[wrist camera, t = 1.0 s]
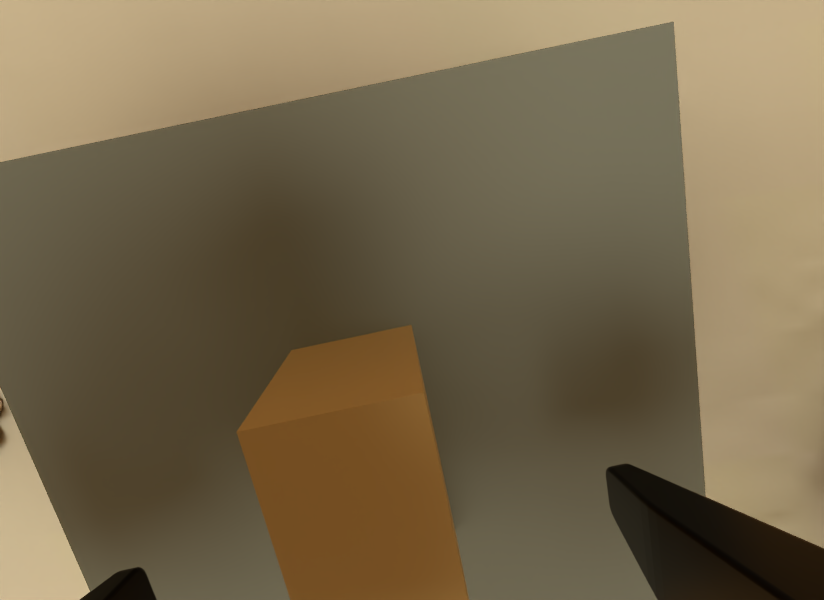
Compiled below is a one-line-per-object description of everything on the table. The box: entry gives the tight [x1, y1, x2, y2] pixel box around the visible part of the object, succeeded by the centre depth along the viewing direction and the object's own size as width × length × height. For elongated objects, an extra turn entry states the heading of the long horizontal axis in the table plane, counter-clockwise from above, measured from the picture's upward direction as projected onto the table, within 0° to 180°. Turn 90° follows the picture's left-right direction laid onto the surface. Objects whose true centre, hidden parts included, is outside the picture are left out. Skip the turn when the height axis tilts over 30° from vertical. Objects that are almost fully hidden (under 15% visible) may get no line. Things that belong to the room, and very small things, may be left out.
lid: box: [0, 22, 706, 600], centre depth 10 cm, size 17×17×5 cm
